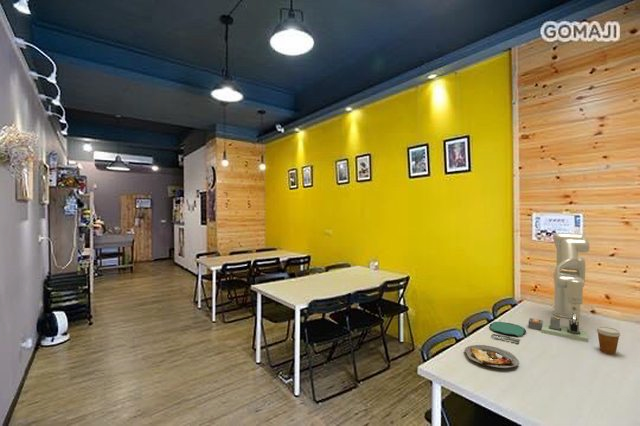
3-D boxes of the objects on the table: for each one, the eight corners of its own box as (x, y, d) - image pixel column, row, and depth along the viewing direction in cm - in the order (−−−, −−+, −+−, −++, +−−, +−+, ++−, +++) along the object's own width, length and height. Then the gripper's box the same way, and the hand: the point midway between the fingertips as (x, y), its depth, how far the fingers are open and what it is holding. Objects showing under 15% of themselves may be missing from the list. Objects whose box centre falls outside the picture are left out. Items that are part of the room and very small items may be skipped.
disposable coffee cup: (610, 348, 176) (610, 326, 176) (624, 356, 167) (625, 333, 166) (591, 347, 177) (592, 325, 177) (605, 355, 168) (605, 332, 167)
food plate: (526, 374, 150) (526, 366, 150) (472, 369, 154) (472, 362, 154) (506, 351, 174) (506, 344, 174) (460, 347, 179) (460, 341, 179)
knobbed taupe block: (568, 335, 192) (569, 321, 192) (568, 332, 195) (569, 319, 195) (578, 337, 189) (578, 323, 189) (578, 334, 193) (578, 321, 192)
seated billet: (550, 331, 197) (550, 318, 197) (550, 329, 201) (550, 316, 201) (559, 333, 194) (559, 320, 194) (559, 331, 198) (560, 318, 198)
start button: (531, 324, 204) (532, 320, 203) (532, 323, 206) (532, 318, 206) (538, 326, 201) (538, 321, 201) (539, 324, 204) (539, 319, 204)
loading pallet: (527, 330, 201) (527, 322, 200) (530, 323, 212) (530, 316, 211) (588, 342, 183) (588, 334, 182) (587, 334, 194) (587, 326, 194)
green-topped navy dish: (527, 329, 203) (527, 325, 203) (522, 347, 179) (522, 343, 179) (492, 322, 215) (492, 319, 215) (483, 338, 191) (483, 334, 191)
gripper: (582, 305, 182) (582, 334, 183) (582, 297, 196) (581, 325, 197) (566, 302, 187) (565, 331, 188) (566, 295, 201) (566, 322, 201)
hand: (573, 328), depth 192 cm, fingers open, 9 cm apart
